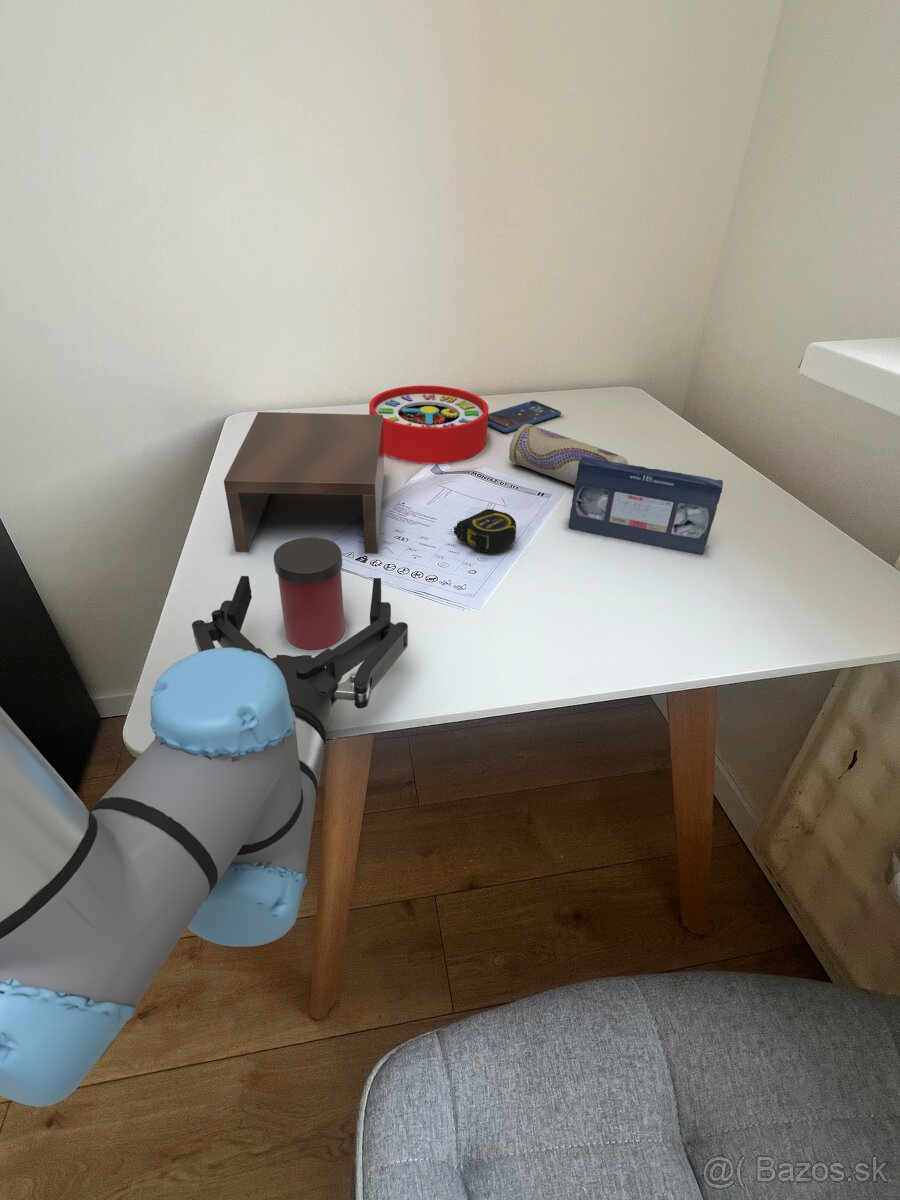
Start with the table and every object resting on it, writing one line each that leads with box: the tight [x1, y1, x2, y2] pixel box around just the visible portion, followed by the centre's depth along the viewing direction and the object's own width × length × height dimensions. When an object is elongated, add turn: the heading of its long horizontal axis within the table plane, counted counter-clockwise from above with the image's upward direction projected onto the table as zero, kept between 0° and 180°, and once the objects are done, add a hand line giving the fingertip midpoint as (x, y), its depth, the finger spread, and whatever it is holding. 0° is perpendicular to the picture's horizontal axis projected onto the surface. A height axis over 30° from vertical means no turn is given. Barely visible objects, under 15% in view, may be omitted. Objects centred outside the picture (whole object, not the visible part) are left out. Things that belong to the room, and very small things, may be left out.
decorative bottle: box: [508, 424, 639, 486], centre depth 105 cm, size 26×8×7 cm, turn 51°
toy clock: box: [368, 385, 489, 465], centre depth 118 cm, size 20×6×20 cm
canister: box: [273, 536, 346, 651], centre depth 74 cm, size 7×7×10 cm
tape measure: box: [453, 508, 517, 553], centre depth 92 cm, size 7×7×4 cm
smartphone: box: [487, 400, 562, 433], centre depth 129 cm, size 8×1×15 cm
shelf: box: [223, 411, 385, 554], centre depth 95 cm, size 18×22×10 cm
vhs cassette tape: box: [568, 457, 724, 555], centre depth 93 cm, size 18×3×10 cm, turn 70°
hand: (312, 587), depth 73 cm, fingers open, 13 cm apart
